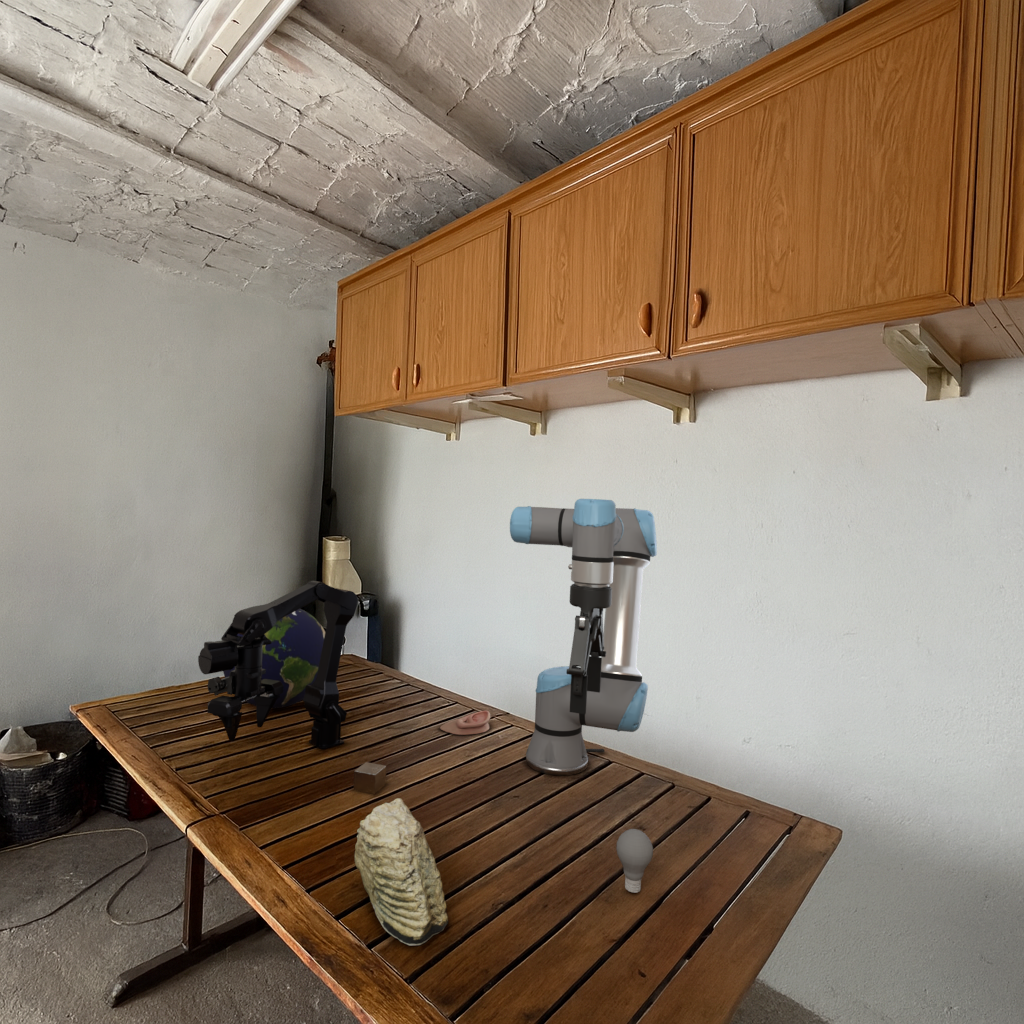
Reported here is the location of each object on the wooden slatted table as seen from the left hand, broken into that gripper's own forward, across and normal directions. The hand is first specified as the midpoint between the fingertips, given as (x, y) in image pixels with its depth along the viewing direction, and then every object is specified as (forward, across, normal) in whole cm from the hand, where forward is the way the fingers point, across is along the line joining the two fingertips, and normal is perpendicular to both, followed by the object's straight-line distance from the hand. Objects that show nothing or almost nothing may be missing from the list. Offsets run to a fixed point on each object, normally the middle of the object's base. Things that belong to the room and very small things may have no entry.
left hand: (246, 733), depth 145 cm
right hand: (-20, +7, +79) cm, 82 cm away
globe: (+8, -39, -21) cm, 45 cm away
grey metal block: (+8, -3, +30) cm, 32 cm away
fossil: (+8, +32, +55) cm, 64 cm away
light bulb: (+8, +14, +89) cm, 91 cm away
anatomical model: (+8, -45, +37) cm, 59 cm away
